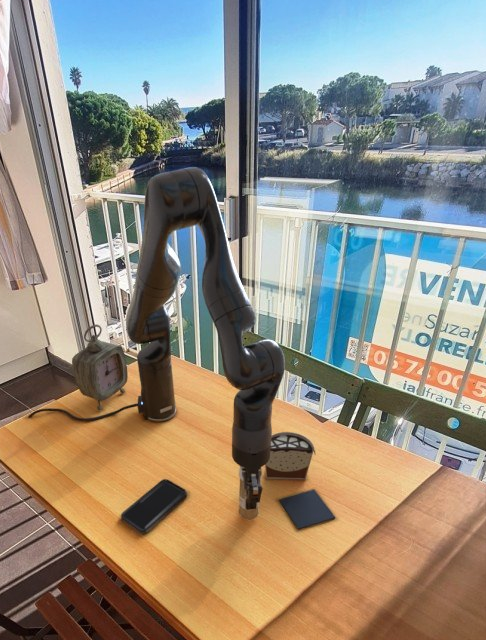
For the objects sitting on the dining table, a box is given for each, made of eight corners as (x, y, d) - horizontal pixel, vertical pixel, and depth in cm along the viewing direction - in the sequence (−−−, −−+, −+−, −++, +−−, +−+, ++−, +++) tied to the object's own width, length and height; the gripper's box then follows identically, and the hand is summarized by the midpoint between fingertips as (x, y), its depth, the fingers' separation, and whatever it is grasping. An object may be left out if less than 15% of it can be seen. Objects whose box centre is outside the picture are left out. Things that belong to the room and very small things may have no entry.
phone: (188, 491, 105) (143, 532, 96) (189, 495, 106) (144, 535, 97) (164, 477, 110) (118, 515, 101) (164, 480, 110) (119, 518, 101)
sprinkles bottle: (237, 505, 101) (238, 461, 93) (257, 505, 101) (260, 460, 93) (239, 521, 98) (240, 476, 90) (260, 521, 98) (263, 476, 90)
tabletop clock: (100, 415, 135) (84, 339, 120) (78, 407, 139) (60, 333, 124) (131, 391, 144) (119, 319, 129) (109, 384, 148) (96, 313, 134)
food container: (308, 462, 113) (313, 430, 107) (311, 479, 108) (316, 447, 102) (259, 461, 114) (260, 430, 109) (260, 478, 110) (261, 446, 104)
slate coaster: (298, 529, 96) (298, 528, 96) (278, 500, 103) (279, 499, 103) (335, 518, 98) (335, 517, 98) (313, 490, 105) (314, 489, 105)
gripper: (227, 417, 93) (227, 477, 103) (237, 465, 81) (236, 527, 91) (264, 415, 93) (260, 475, 103) (278, 462, 81) (272, 524, 91)
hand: (249, 499), depth 97 cm, fingers closed on sprinkles bottle, 4 cm apart
